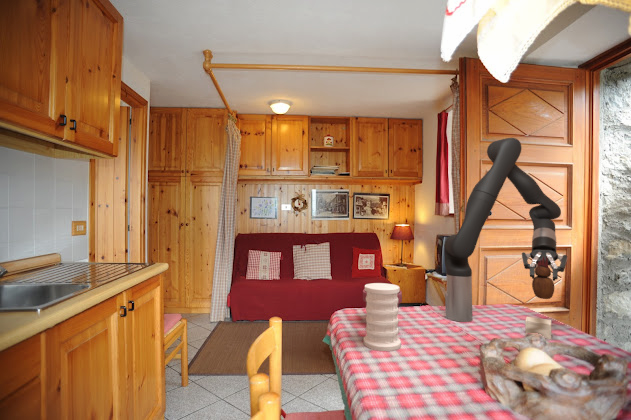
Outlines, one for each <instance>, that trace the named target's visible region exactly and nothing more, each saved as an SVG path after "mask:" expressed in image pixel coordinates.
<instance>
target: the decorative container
mask: <svg viewBox="0 0 631 420" xmlns="http://www.w3.org/2000/svg"><path fill="white" fill-rule="evenodd" d="M364 289H365V291H367V296H366V302H367V306H366V305H365V312H366V315H365V321H366V325H365V332H366V335H365V336H363V345H364V346H366V348H368V349H370V350H374V351H377V352H378V351H379V352H391V351H392V352H394V351H397V350H399V349H401V347H402V340H401V339H400V338H399V337H398V335H399V332H400V331H399V328H398V324H399V318H398V315H399V312H400V311H399V308H398V307H397V304H398V297H397V293H399V292H400V291H401V289H400V286H399V285H397V284H394V283H393V284H392V283H386V282H385V283H384V282H373V283H366V284H365V285H364Z"/></svg>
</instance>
